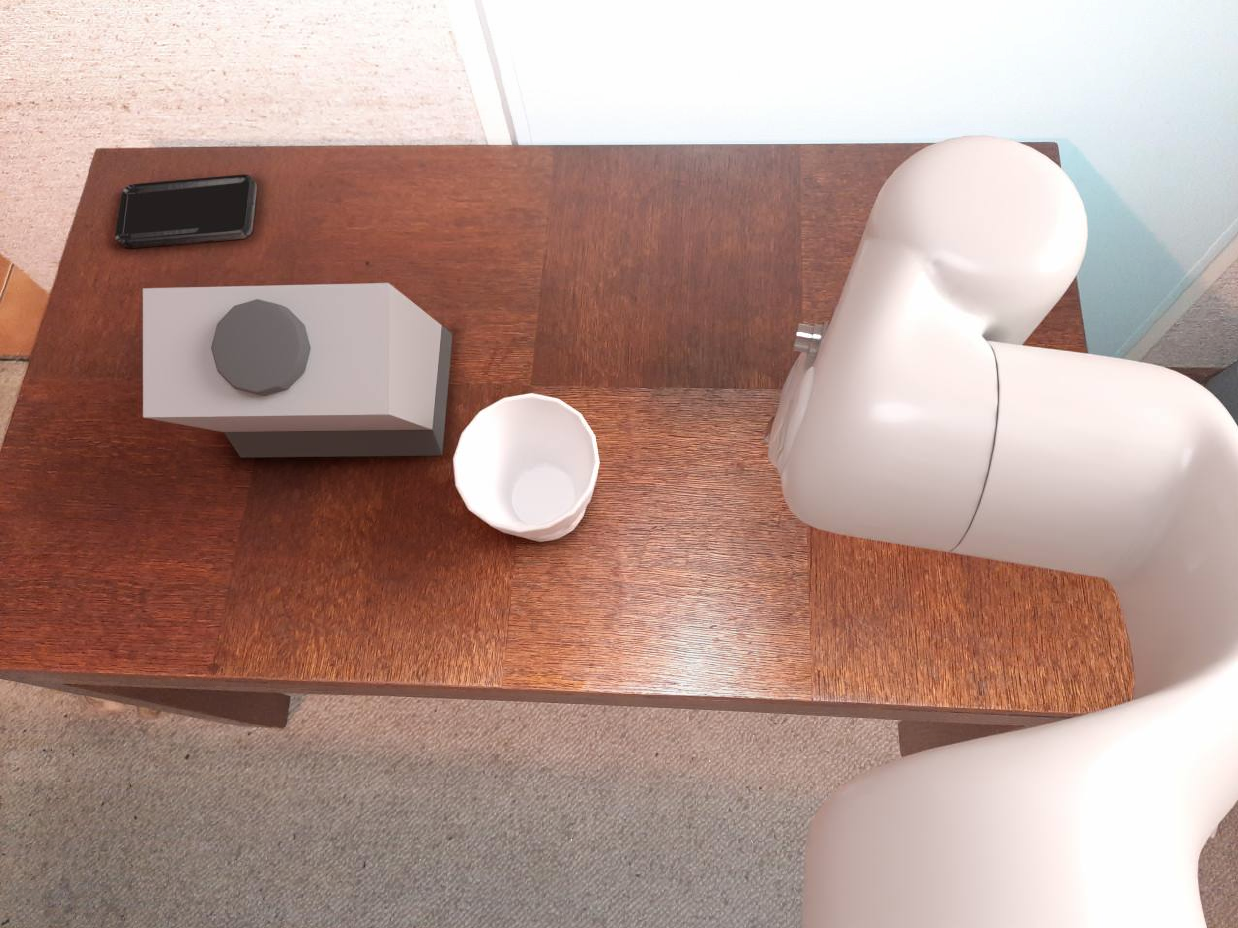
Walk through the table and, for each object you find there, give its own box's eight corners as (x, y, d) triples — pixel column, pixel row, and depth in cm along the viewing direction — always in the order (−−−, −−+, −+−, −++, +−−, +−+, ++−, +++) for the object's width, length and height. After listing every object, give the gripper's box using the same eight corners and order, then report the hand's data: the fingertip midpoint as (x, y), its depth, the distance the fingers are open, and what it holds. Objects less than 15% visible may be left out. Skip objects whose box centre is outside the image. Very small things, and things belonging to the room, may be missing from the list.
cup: (630, 468, 83) (623, 425, 72) (573, 583, 79) (558, 556, 69) (517, 420, 85) (495, 371, 75) (457, 530, 82) (425, 496, 71)
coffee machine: (452, 334, 89) (392, 215, 70) (440, 478, 84) (371, 391, 64) (260, 337, 90) (150, 222, 71) (236, 479, 85) (110, 395, 66)
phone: (123, 185, 96) (253, 173, 96) (129, 191, 97) (258, 179, 97) (113, 244, 94) (247, 232, 93) (119, 250, 95) (252, 239, 94)
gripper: (730, 400, 41) (713, 509, 58) (1056, 470, 39) (938, 562, 56) (762, 267, 43) (737, 410, 60) (1071, 326, 41) (953, 457, 58)
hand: (834, 483), depth 58 cm, fingers closed
